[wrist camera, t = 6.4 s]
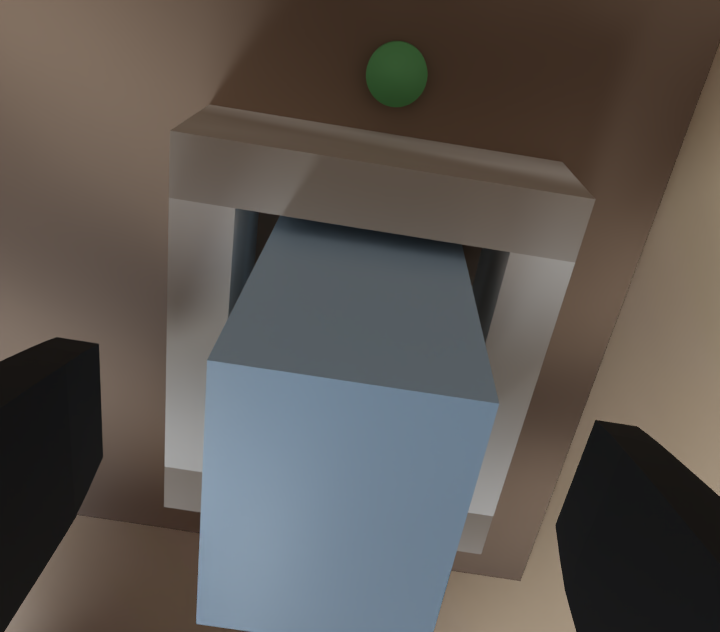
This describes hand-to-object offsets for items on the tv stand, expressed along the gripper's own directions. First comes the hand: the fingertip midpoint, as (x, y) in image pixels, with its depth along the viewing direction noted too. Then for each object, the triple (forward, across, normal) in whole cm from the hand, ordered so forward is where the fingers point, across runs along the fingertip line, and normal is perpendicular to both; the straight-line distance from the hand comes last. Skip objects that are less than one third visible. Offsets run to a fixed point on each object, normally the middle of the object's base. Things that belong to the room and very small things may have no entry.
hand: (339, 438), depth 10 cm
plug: (+4, 0, 0) cm, 4 cm away
